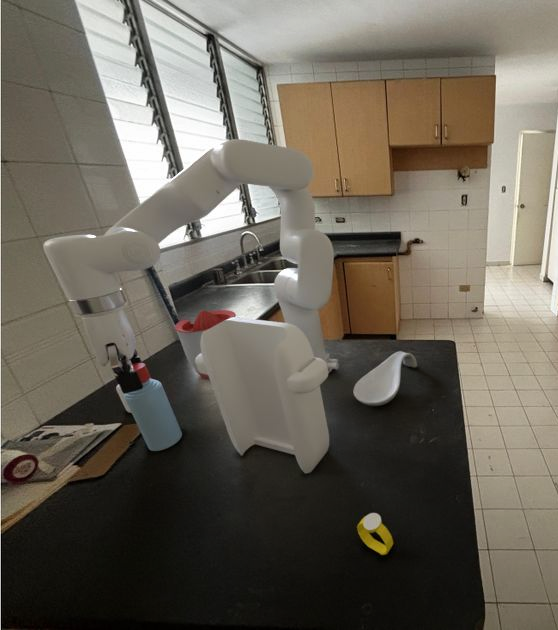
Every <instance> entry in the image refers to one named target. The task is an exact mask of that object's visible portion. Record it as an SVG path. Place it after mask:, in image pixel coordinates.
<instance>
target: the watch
mask: <svg viewBox="0 0 558 630" xmlns="http://www.w3.org/2000/svg"><path fill="white" fill-rule="evenodd" d="M356 528H357V533H358V535H359V537H360V539H361V540H362V542H363V543H364V544H365V545H366V547H368V548H369V549H371V550H373V551H375V552H376V553H378V554H379V555H381V556H385V555H386V556H387V555H388V554H389V552H390V550H391V549H392V548H393V545H394V540H393V536H392V533H390V531H389V529H388V528H387V526H385V525H384V524H383V522H382V517H381V515H380V514H379V513H377V512H369V513H368V514H367V515H364V516H363V518H361V520H360V521H359V523H358V524H357V526H356ZM372 533H373V534H374V533H376V534H377V535H379V536H380V538H381V539H382V541H383V543H382V542H381V541H378V540H377V539H375V538H374V537H373V536H372V535H371V534H372Z"/></svg>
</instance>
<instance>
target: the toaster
mask: <svg viewBox="0 0 558 630" xmlns="http://www.w3.org/2000/svg"><path fill="white" fill-rule="evenodd" d="M200 347H201V353H200V354H199V355H198V356H197V357H196V359H195V363H196V366H197V369H198V371H199V372H200V373H202V374H205V375H208V376H209V381H210V385H211V387H212V391H213V393H214V396H215V400H216V402H217V405H218V408H219V411H220V413H221V416H222V419H223V423H224V425H225V428H226V431H227V434H228V436H229V439H230V441H231V443H232V445H233V447H234V448H235V450H236V451H237V453H238V454H240V456H244V454H245V452H246V451H247V450H248V449H249V448H251V447H252V446H254V445H257V446H260V447H264V448H268V449H271V450H275V451H279V452H283V453H286V454H290V455H294V456H295V459H296V462H297V464H298V466H299V468H300V470H301V471H302V472H303V473H304V474H305V475H306V474H310V473H312V472H313V471H314V469H315V468H316V467H317V465H318V464H319V463H320V462H321V460H322V459H323V458H324V457H325V455H326V454H327V452H328V451H329V447H330V433H329V427H328V422H327V417H326V411H325V407H324V402H323V401H324V400H323V396H322V390H321V385H322V384H323V383H324V382H325V381H326V380H327V378H328V377H329V373H328V368H327V364H326V362H325V361H324V360H322V359H320V358H316V357H314V355H313V351H312V348H311V346H310V343H309V341H308V339H307V337H306V336H305V334H304V333H303V332H302V331H301V330H300V329H299V328H298V327H296V326H295V325H292V324H288V323H285V322H280V321H279V322H278V321H272V320H271V321H269V320H263V319H254V318H246V317H238V316H235V317H232V318H229V319H227V320H225V321H223V322H221V323H219V324H217V325H215V326H213V327H212V328H210V329H208V330H205V331H204V332H203V333H202V335H201V340H200Z"/></svg>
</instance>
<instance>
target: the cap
mask: <svg viewBox="0 0 558 630" xmlns="http://www.w3.org/2000/svg"><path fill="white" fill-rule="evenodd" d="M132 366H133V369H134V371H137V373H138V375H139V378H140V380H141V382H142V383H144V382H146V381H148V380H149V379H151V375H150V372H149V370H148V368H147V365H146V363H145V362H142V363H135V364H132ZM127 367H128V366H127Z"/></svg>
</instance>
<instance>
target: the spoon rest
mask: <svg viewBox="0 0 558 630" xmlns="http://www.w3.org/2000/svg"><path fill="white" fill-rule="evenodd" d="M402 364H403V365H404V366H405V367H410V368H417V367H418V362H417V359H416V357H415V356H414V355H413V354H412V353H410V352H405V351H402V350H400V351H396V352H394V353H392V354H391V355H390V356H389V357H388V358H386V359H385V360H384V361H383V362H381V363H380V364H379V365H377V366H376V367H374V368H373V369H372V370H370V371H369V372H368V373H366V374H365V375H364V376H362V377H361V378H360V379H359V380H358V381H357V382H356V383H355V385H354V388H353V396H354V397H355V399H356V400H357V401H358V402H360V403H362V404H364V405H366V406H369V407H379V406H383V405H386V404H388V403H390V402H391V401H392V400H393V399H394V398H395V397H396V395H397V394H398V391H399V389H400V386H401V373H402Z"/></svg>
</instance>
